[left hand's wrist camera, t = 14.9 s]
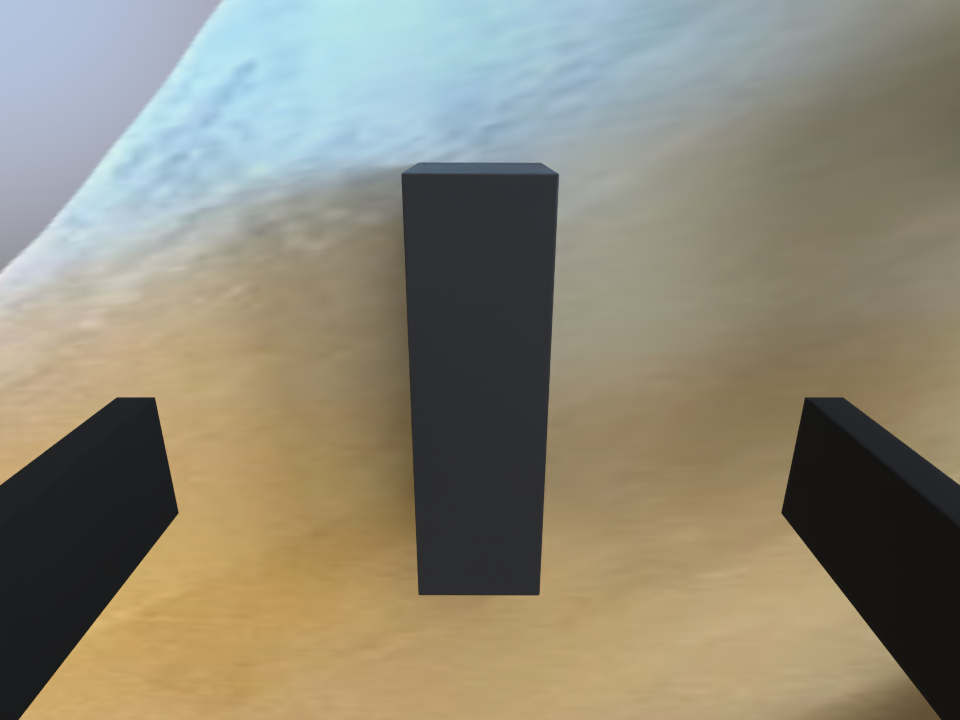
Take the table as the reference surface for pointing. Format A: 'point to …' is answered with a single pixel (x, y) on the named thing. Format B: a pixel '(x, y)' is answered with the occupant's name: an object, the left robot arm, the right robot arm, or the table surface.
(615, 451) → the table surface
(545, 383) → the box
